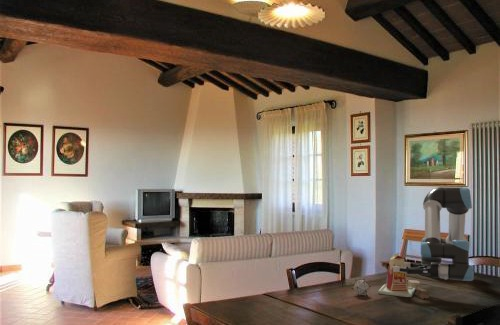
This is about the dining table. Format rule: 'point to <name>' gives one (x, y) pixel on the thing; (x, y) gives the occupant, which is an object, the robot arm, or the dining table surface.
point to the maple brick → (414, 284)
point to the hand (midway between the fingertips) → (395, 266)
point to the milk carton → (396, 276)
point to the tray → (384, 291)
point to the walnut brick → (422, 293)
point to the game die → (361, 287)
